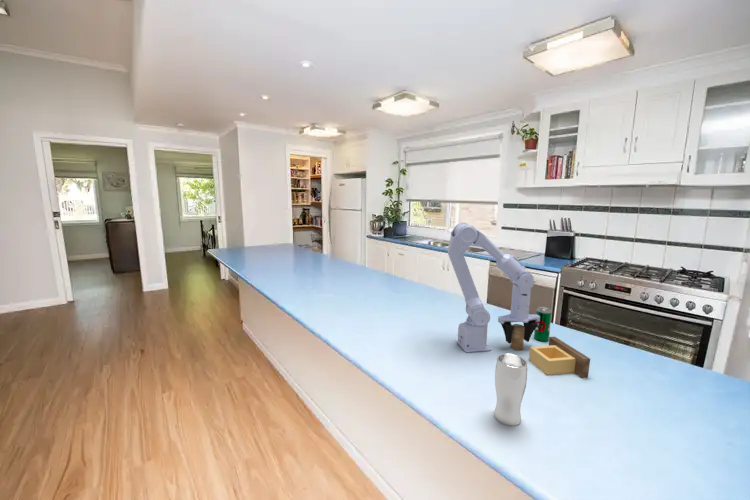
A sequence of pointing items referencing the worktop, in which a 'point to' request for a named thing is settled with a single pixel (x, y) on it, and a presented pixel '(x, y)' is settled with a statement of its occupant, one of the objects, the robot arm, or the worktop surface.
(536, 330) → the soda can
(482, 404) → the worktop surface
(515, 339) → the dowel
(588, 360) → the walnut wall
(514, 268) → the robot arm
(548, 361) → the socket block
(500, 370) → the beer glass
